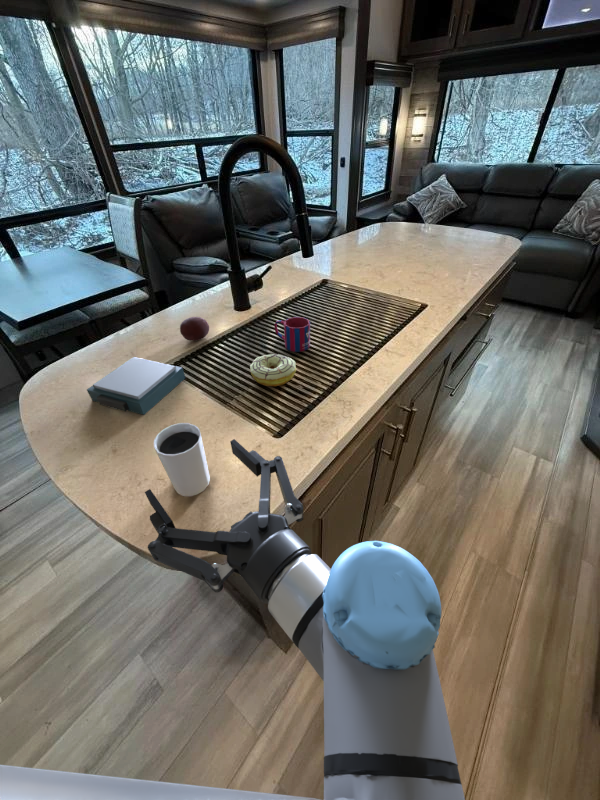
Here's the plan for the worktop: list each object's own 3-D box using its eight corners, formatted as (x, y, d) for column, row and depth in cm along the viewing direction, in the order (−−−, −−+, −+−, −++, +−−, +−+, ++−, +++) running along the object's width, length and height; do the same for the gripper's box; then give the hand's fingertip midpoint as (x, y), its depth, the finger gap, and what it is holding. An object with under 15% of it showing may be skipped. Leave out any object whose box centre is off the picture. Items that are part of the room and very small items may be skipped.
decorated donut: (282, 359, 84) (281, 346, 81) (304, 380, 76) (304, 366, 74) (244, 371, 80) (242, 358, 77) (263, 394, 72) (262, 380, 70)
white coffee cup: (163, 494, 52) (143, 451, 46) (184, 462, 57) (169, 419, 51) (201, 502, 51) (186, 459, 45) (219, 469, 56) (208, 426, 50)
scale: (140, 418, 67) (134, 403, 64) (88, 403, 71) (80, 389, 68) (185, 378, 78) (181, 364, 75) (138, 367, 82) (133, 354, 79)
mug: (301, 354, 85) (300, 330, 81) (270, 344, 90) (268, 321, 86) (314, 344, 90) (314, 320, 86) (284, 334, 94) (283, 312, 90)
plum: (176, 339, 93) (171, 319, 89) (201, 329, 98) (197, 309, 94) (190, 348, 89) (185, 327, 85) (216, 337, 94) (212, 317, 90)
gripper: (197, 687, 32) (117, 538, 45) (359, 525, 46) (263, 444, 58) (178, 666, 28) (95, 505, 40) (365, 492, 41) (259, 411, 53)
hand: (194, 469), depth 49 cm, fingers open, 13 cm apart
